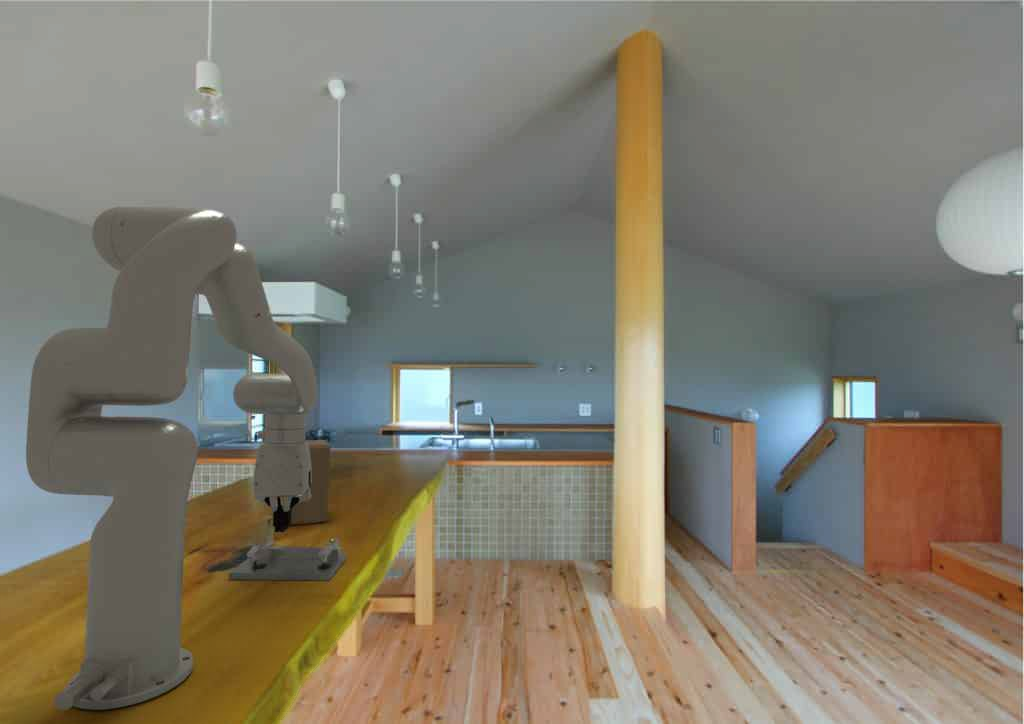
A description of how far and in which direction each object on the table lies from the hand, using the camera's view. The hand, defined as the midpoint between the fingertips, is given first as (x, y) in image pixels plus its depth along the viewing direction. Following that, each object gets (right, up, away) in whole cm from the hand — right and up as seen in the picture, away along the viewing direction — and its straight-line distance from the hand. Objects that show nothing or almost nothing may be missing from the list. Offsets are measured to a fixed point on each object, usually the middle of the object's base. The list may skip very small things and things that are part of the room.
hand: (281, 530), depth 107 cm
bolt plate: (+3, -7, -3) cm, 8 cm away
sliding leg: (-3, -5, -3) cm, 6 cm away
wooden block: (-8, -8, +33) cm, 35 cm away
